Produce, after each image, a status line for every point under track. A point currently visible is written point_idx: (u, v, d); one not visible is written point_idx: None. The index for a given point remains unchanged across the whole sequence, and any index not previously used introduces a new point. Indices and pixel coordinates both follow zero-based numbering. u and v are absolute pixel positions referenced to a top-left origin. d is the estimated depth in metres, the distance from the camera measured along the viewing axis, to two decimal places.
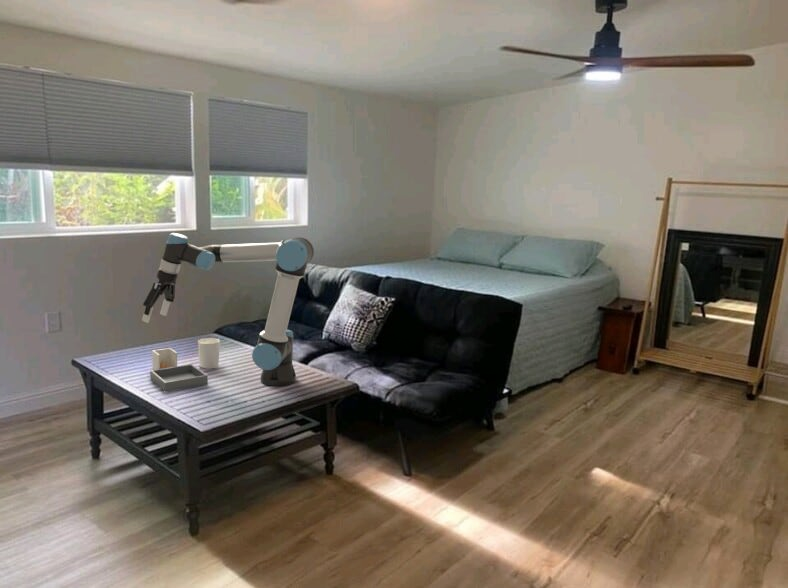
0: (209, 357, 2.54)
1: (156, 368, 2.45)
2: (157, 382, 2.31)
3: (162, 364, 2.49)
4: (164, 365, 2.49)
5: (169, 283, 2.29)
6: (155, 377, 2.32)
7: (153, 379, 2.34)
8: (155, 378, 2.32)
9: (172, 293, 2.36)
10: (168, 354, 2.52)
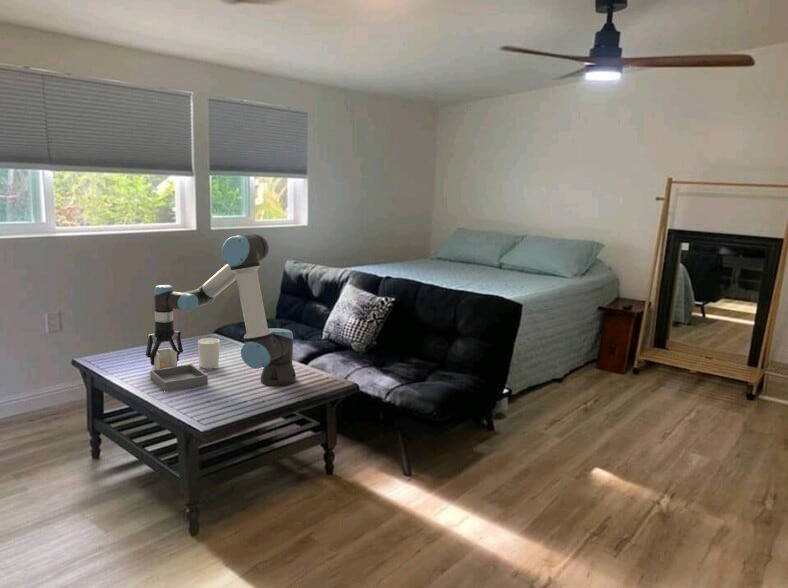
0: (209, 357, 2.54)
1: None
2: (157, 382, 2.31)
3: None
4: (162, 368, 2.48)
5: (169, 331, 2.46)
6: (155, 377, 2.32)
7: (153, 379, 2.34)
8: (155, 378, 2.32)
9: (178, 345, 2.50)
10: (168, 354, 2.52)
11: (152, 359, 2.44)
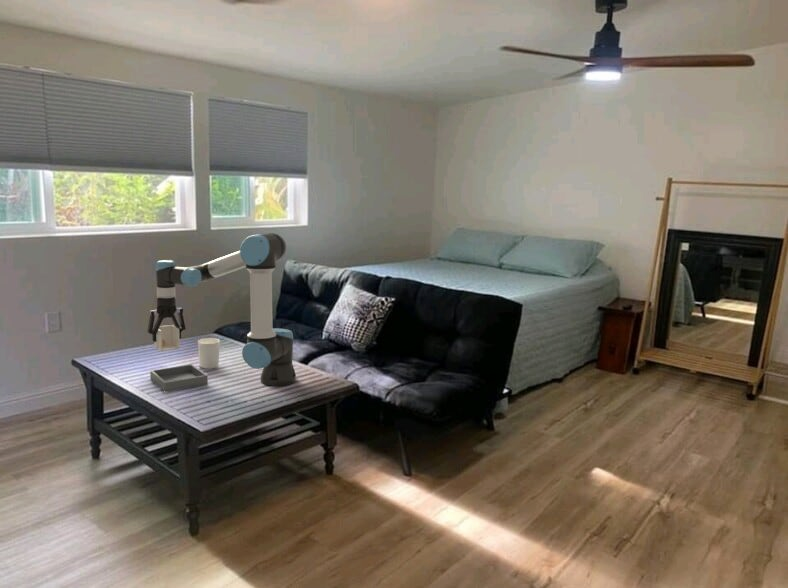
0: (209, 357, 2.54)
1: None
2: (157, 382, 2.31)
3: None
4: (162, 342, 2.44)
5: (171, 307, 2.42)
6: (155, 377, 2.32)
7: (153, 379, 2.34)
8: (155, 378, 2.32)
9: (181, 322, 2.46)
10: (170, 331, 2.48)
11: (154, 336, 2.40)
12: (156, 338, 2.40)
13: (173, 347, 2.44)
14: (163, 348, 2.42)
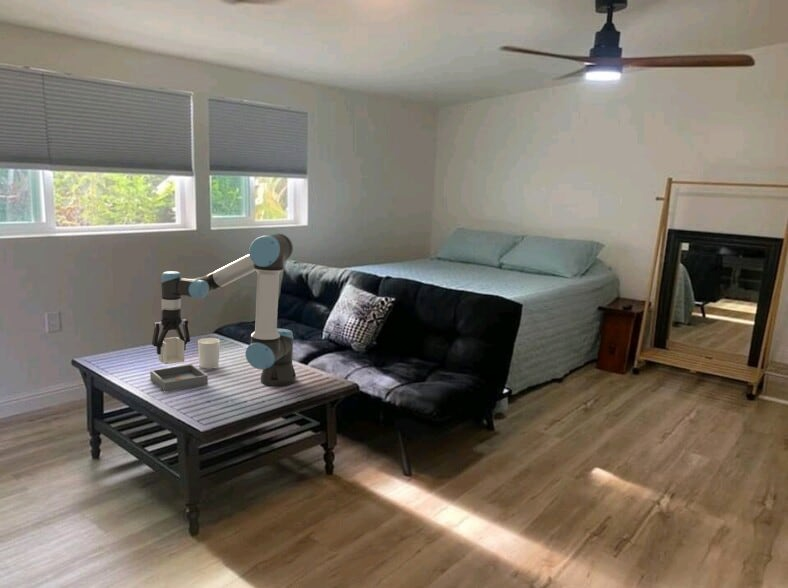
0: (209, 357, 2.54)
1: None
2: (157, 382, 2.31)
3: None
4: None
5: (176, 319, 2.37)
6: (155, 377, 2.32)
7: (153, 379, 2.34)
8: (155, 378, 2.32)
9: (186, 334, 2.42)
10: (174, 343, 2.44)
11: (158, 348, 2.35)
12: (161, 351, 2.36)
13: (178, 360, 2.40)
14: (168, 361, 2.37)
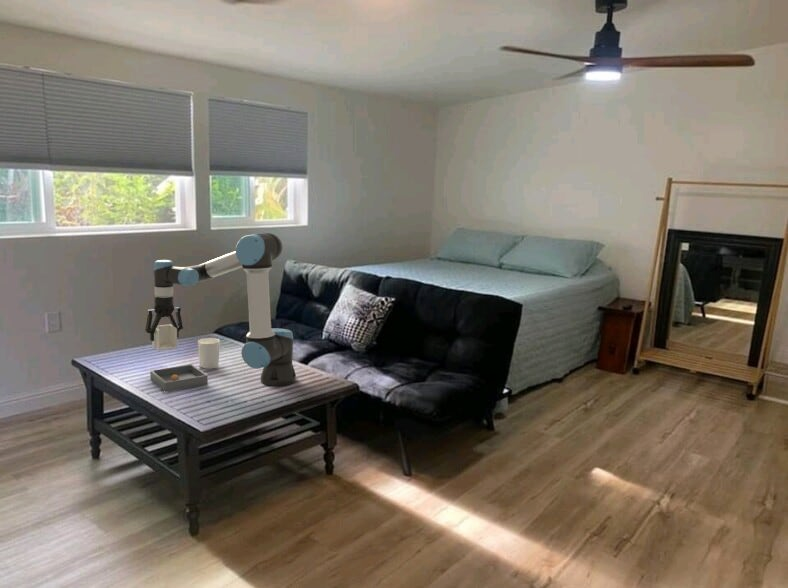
0: (209, 357, 2.54)
1: (156, 344, 2.43)
2: (157, 382, 2.31)
3: None
4: None
5: (169, 307, 2.44)
6: (155, 377, 2.32)
7: (153, 379, 2.34)
8: (155, 378, 2.32)
9: (178, 322, 2.48)
10: (168, 330, 2.50)
11: (152, 335, 2.41)
12: (154, 337, 2.42)
13: (171, 346, 2.46)
14: (161, 347, 2.43)
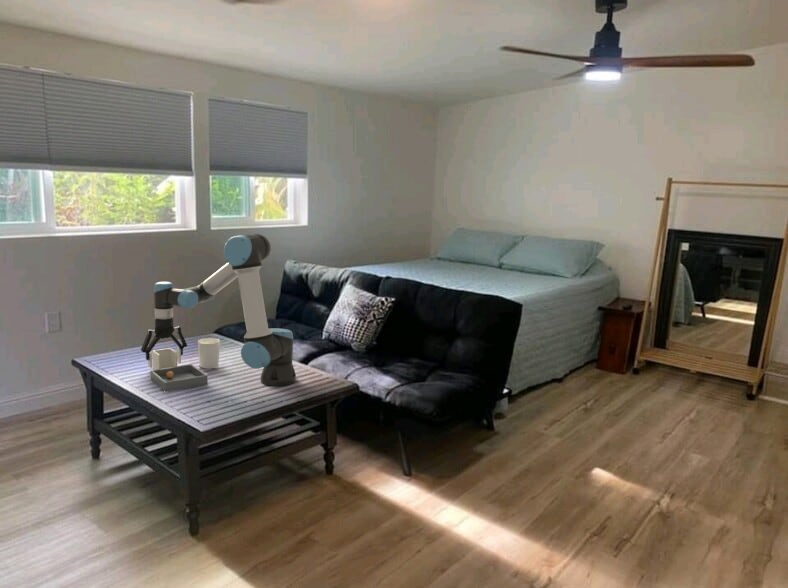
0: (209, 357, 2.54)
1: (156, 368, 2.45)
2: (157, 382, 2.31)
3: None
4: None
5: (168, 329, 2.46)
6: (155, 377, 2.32)
7: (153, 379, 2.34)
8: (155, 378, 2.32)
9: (181, 340, 2.51)
10: (168, 354, 2.52)
11: (147, 354, 2.42)
12: (149, 356, 2.43)
13: None
14: None
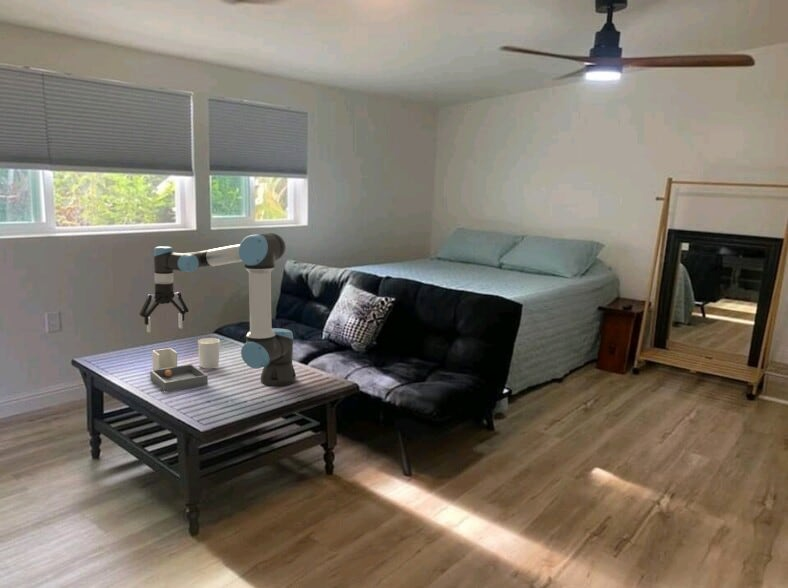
0: (209, 357, 2.54)
1: (156, 368, 2.45)
2: (157, 382, 2.31)
3: None
4: None
5: (169, 294, 2.43)
6: (155, 377, 2.32)
7: (153, 379, 2.34)
8: (155, 378, 2.32)
9: (183, 306, 2.48)
10: (168, 354, 2.52)
11: (146, 319, 2.39)
12: (148, 321, 2.39)
13: None
14: None
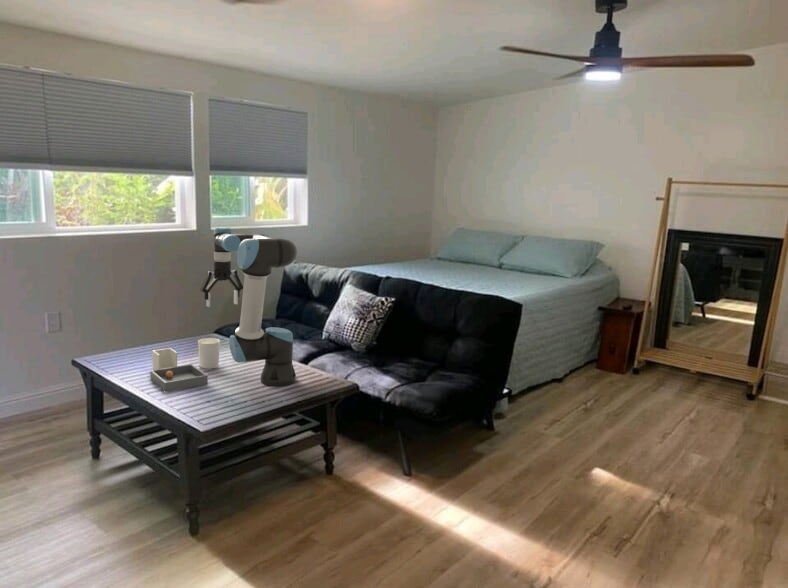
0: (209, 357, 2.54)
1: (156, 368, 2.45)
2: (157, 382, 2.31)
3: None
4: None
5: (226, 272, 2.62)
6: (155, 377, 2.32)
7: (153, 379, 2.34)
8: (155, 378, 2.32)
9: (238, 283, 2.67)
10: (168, 354, 2.52)
11: (206, 294, 2.58)
12: (208, 296, 2.58)
13: None
14: None
